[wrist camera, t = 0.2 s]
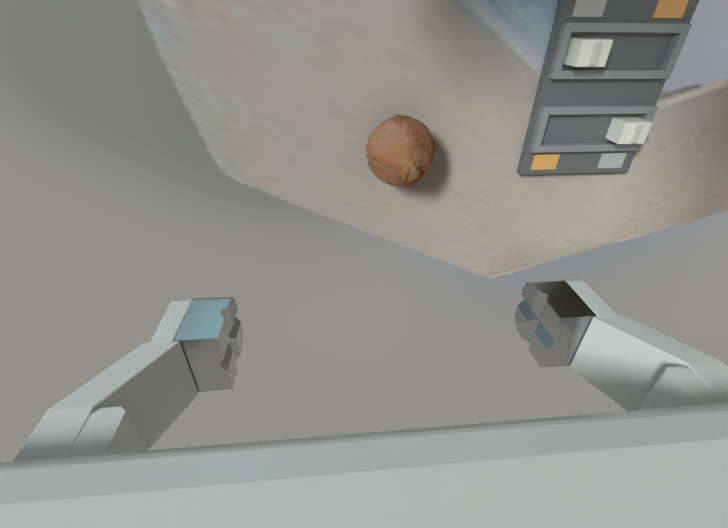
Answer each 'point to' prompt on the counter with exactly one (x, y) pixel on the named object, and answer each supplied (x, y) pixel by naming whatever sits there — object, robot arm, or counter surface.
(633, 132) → the tab
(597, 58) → the tab
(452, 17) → the counter surface
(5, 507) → the robot arm
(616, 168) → the switch bank
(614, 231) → the counter surface
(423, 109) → the counter surface
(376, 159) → the onion
